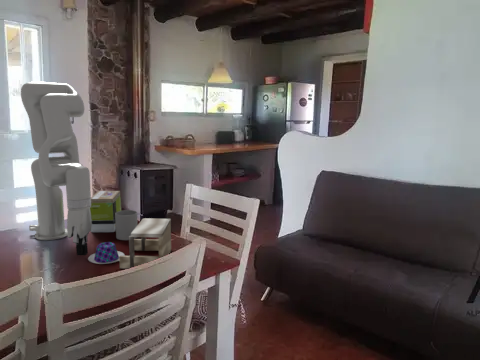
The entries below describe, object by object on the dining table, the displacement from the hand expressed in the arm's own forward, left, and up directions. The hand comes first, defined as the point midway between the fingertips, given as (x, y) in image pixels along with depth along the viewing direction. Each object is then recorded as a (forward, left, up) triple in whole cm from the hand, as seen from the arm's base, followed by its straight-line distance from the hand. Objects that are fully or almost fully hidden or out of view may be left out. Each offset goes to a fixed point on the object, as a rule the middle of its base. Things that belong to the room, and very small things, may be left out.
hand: (82, 254), depth 133 cm
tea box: (-3, +35, -2) cm, 35 cm away
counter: (+22, 0, -1) cm, 22 cm away
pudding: (+8, 0, -2) cm, 8 cm away
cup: (+9, +23, -1) cm, 24 cm away
